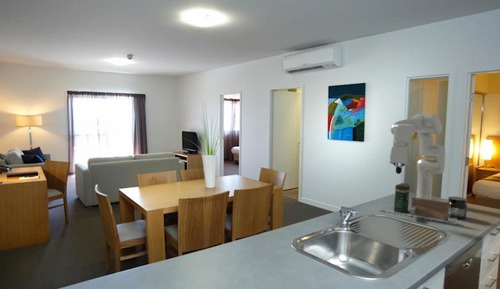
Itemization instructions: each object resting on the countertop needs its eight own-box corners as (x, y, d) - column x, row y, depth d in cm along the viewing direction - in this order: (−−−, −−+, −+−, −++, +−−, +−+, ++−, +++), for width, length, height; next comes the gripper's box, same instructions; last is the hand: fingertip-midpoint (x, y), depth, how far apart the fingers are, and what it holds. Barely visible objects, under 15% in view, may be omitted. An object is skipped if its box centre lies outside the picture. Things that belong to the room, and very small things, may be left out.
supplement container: (460, 214, 197) (461, 196, 196) (470, 220, 187) (471, 200, 186) (442, 214, 198) (444, 195, 197) (452, 219, 188) (453, 200, 187)
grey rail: (380, 209, 207) (380, 205, 206) (456, 223, 181) (456, 218, 180) (378, 210, 204) (379, 206, 204) (456, 224, 178) (456, 219, 178)
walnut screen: (411, 213, 195) (412, 196, 194) (448, 220, 183) (449, 202, 182) (408, 217, 187) (409, 200, 186) (446, 224, 175) (447, 205, 174)
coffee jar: (404, 214, 198) (406, 185, 196) (392, 211, 203) (393, 183, 202) (410, 210, 204) (411, 183, 203) (397, 208, 210) (399, 181, 208)
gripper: (414, 144, 189) (412, 174, 190) (388, 143, 198) (387, 171, 199) (412, 145, 183) (410, 176, 184) (385, 144, 192) (384, 173, 193)
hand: (398, 173), depth 192 cm, fingers closed
